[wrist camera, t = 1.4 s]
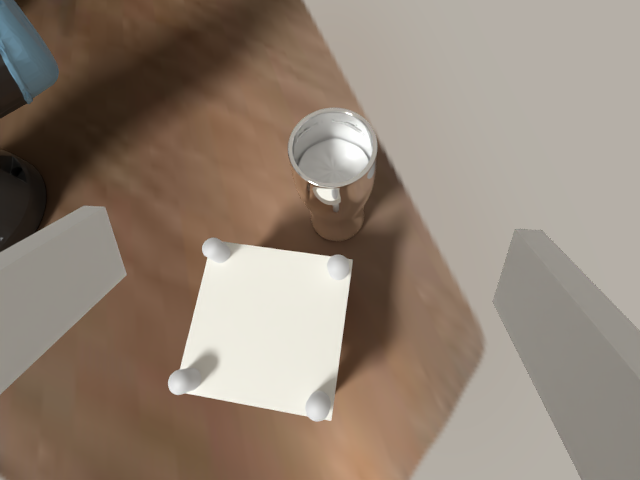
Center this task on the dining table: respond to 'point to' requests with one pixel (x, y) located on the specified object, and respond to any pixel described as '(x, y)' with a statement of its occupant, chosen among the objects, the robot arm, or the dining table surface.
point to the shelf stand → (267, 329)
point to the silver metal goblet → (334, 169)
